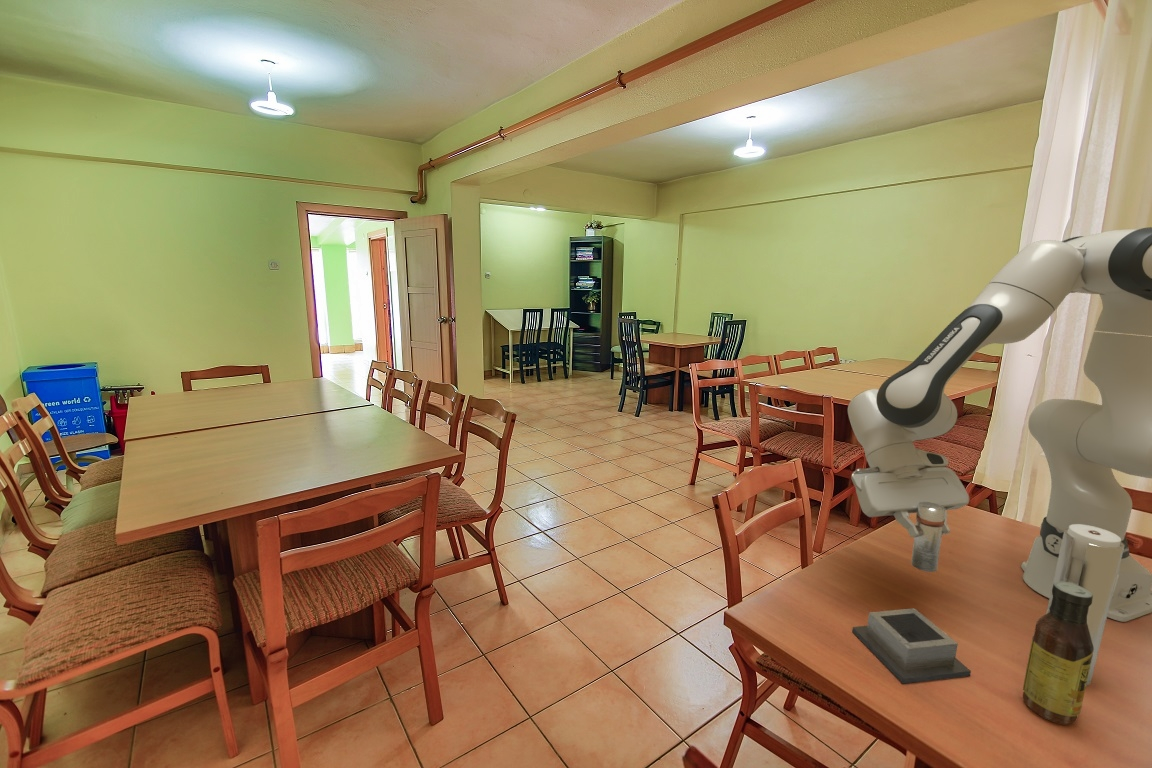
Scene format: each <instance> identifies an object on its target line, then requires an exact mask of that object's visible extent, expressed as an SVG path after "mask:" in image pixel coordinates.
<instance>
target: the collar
mask: <svg viewBox="0 0 1152 768" xmlns="http://www.w3.org/2000/svg"><path fill="white" fill-rule="evenodd" d="M867 619H868V620H867V625H859V626H853V627H852V633H853V634H854V636H855V637H857V639H859V641H861V643H863V645H864V646H865V647H866V648H867V649H868V650H869V651H870V652H871V653H872V654H873V655H874V656H875V657H876V658H877V659H878V660H879V661H880V662H881V663H882V664H883V665H884V666H885V668H887V670H889V672H890V673H892V675H894V677H895V678H896V679H897V680H898V681H899V682H900V683H901V684H902V685H906V684H916V683H923V682H924V683H925V682H933V681H940V680H941V681H942V680H950V679H957V678H967V677H970V676H971V673H972V670H971V669H970V668H969V667H967V666H966V665H965V664H963V663H962V662H961V660H959V659H958V658H957V656H956V655H957V651H958V645H959V644H958V642H956V640H955V639H953V638H952V637H951V636H949V635H948V634H947V633H946V632H945V631H943V630H942V629H941V628H940V627H938V626H937V625H936V624H934V622H932V621H931V620H930V619H928V618H927V617H926V616H925V615H923V614H922V613H921V612H920V611H918V609H916V608H913V607H911V608H903V609H902V608H901V609H893V610H882V611H872V612H871V611H870V612H869V613H868V618H867Z"/></svg>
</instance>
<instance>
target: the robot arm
mask: <svg viewBox="0 0 1152 768" xmlns="http://www.w3.org/2000/svg"><path fill="white" fill-rule="evenodd" d="M1072 293H1073V294H1074V293H1079V294H1087V295H1088V294H1089V295H1099V297H1100V299H1101V304H1102V305H1101V306H1102V309H1101V312H1100V314H1099V315H1098V319H1097V321H1096V323H1095V327H1094V331H1093V333H1092V336H1091V340H1090V344H1089V348H1088V350H1087V354H1086V357H1085V361H1084V365H1083V373H1084V375H1085V377H1087V379H1088V380H1089V381H1091V382H1092V383H1093V384H1094V385H1095V386H1096V388H1097V389H1098V392H1099V393H1100V396H1101V404H1098V403H1094V402H1090V401H1084V400H1081V399H1080V400H1079V399H1066V398H1064V399H1063V398H1052V399H1047V400H1045V401H1042V402H1041V403H1039V404H1038V405H1037V406H1036V407H1035V408H1034V409H1033V410H1032V411H1031V413H1030V415H1029V418H1028V423H1027V424H1028V430H1029V432H1030V434H1031V436H1032V437H1033V438H1034V439H1035V440H1036V441H1037V443H1038V444H1039V446H1040V447H1041V449H1042V452H1043V453H1044V456H1045V458H1046V462H1047V464H1048V465H1047V466H1048V469H1049V472H1050V479H1051V480H1050V481H1051V485H1050V486H1051V488H1050V493H1049V500H1048V501H1049V502H1048V508H1047V513H1046V516H1045V517H1043V519H1042V522H1041V523H1040V531H1039V536H1036V537H1035V539H1034V541H1033V544H1032V546H1031V550H1030V553H1029V555H1028V558H1027V561H1023V562H1022V563H1021V565H1020V567H1021V569H1022V570H1023V571H1024V572H1023V575H1022V579H1023V581H1024V582H1025V584H1026V585H1028V586H1029V588H1031V589H1032V590H1033V591H1035V592H1036V593H1038V594H1040V595H1042V596H1044V597H1045V598H1048V600H1049V599H1050V594H1051V589H1052V585H1053V580H1054V576H1055V571H1056V566H1057V562H1058V557H1059V553H1060V548H1061V544H1062V539H1063V534H1064V531H1065V529H1067V528H1069V526H1070V525H1072V524H1083V525H1089V526H1094V527H1098V528H1101V529H1104V530H1107V531H1110V532H1112V533H1114V534H1116V535H1118V536H1119V537H1120V538H1121V542H1122V543H1123V544H1124V550H1123V554H1122V558H1121V562H1120V566H1119V571H1118V575H1117V579H1116V583H1115V587H1114V591H1113V595H1112V599H1111V603H1110V607H1109V611H1108V615H1107V618H1108V619H1112V620H1115V621H1118V622H1122V623H1123V622H1124V623H1125V622H1129V621H1132V620H1134V619H1135V620H1136V619H1137V618H1140V617H1142V616H1145V615H1148V614H1151V613H1152V573H1151V572H1150V571H1149V569H1147V568H1146V567H1145V566H1143V565H1142V564H1141V563H1140V562H1139V561H1138V560H1136V558H1134V557H1133V556H1132V555H1131V554H1130V549H1129V546H1131V548H1134V549H1140V548H1141V547H1142V546H1143V544H1144V541H1143V538H1140V537H1135V536H1133V535H1131V534H1127V529H1128V526H1129V521H1130V517H1131V514H1132V510H1133V501H1132V497H1131V496H1130V494H1129V493H1128V491H1126V489H1125V488H1124V487H1123V486H1122V484H1120V483H1119V482H1118V480H1117V479H1116V477H1115V475H1114V473H1113V470H1115V471H1117V472H1120V473H1124V474H1127V475H1130V476H1135V477H1140V478H1145V479H1152V226H1150V227H1141V228H1130V229H1129V228H1128V229H1112V230H1108V231H1107V230H1106V231H1103V232H1099V233H1093V234H1089V235H1084V236H1082V235H1080V236H1078V235H1077V236H1075V237H1074V236H1073V237H1069V238H1067V239H1064V240H1061V241H1060V240H1056V239H1055V240H1053V239H1052V240H1051V239H1045V240H1044V239H1043V240H1039V241H1034V242H1032V243H1029V244H1028V245H1026V246H1025V247H1024V248H1022V249H1021V250H1020V251H1019V252H1018V253H1017V254H1015V256H1013V257H1012V258H1011V259H1010V260H1009V261H1007V263H1006V264H1004V265H1003V266H1002V268H1000V270H999V271H997V273H996V274H995V275H994V276H993V277H992V279H991V280H990V281H989V282H988V283H987V285H986V286H985V287H984V288H983V289H982V291H980V292H979V294H978V295H977V296H976V298H975V299H974V300H973V301H972V302H971V303H970V304H969V306H967V307H966V308H965V309H963V311H962V312H961V313H960V314H958V315H957V316H956V317H955V318H954V319H953V320H952V321H950V323H949V324H948V325H947V326H945V328H943V330H941V332H940V333H939V334H938V335H937V336H936V337H935V338H934V339H933V341H932V342H931V343H930V344H929V345H928V346H927V347H925V349H924V350H923V351H922V352H921V353H920V354H919V355H918V356H917V357H916V358H915V359H914V360H913V361H912V362H911V363H910V364H909V365H907V366H905V367H904V368H903V369H901V370H899V371H897V372H896V373H894V374H892V375H891V376H889V377H888V378H886V379H885V380H884V381H883V383H882V384H881V386H880V387H879V388H871V389H867V390H865V391H862V392H860V393H858V394H857V395H855V396H854V397H853V398H852V399H851V400H850V401H849V404H848V406H847V415H848V420H849V422H850V425H851V426H850V427H851V428H852V431H853V433H854V435H855V438H856V440H857V442H858V443H859V444H860V445H861V446H862V447H863V450H864V454H865V455H864V456H865V459H866V461H867V464H868V466H869V467H868V468H867V467H866V468H856V469H855V470H854V471H853V472H852V473H851V476H850V479H851V481H852V484H853V486H854V488H855V492H856V496H857V499H858V503H859V505H860V508H861V511H862V513H864V515H866V516H867V517H869V518H874V517H875V518H876V517H885V516H886V517H887V516H894V519H895V521H896V522H897V523H898V524H900V525H901V526H902V527H903V528H904V529H906V531H907V532H908V535H909V537H910V538H912V539H914V537H920V536H922V535H923V531H922V530H921V527H920V525H916V523H914V521H912V520H911V519H910V518H909V517H910V514H917V513H918V505H919V503H920V502H931V503H936V504H939V505H941V506H943V507H944V508H945V516H944V519H945V521H944V526H943V530H942V536H943V535H947V534H950V533H951V529H950V527H949V525H948V523H947V521H948V520H947V519H948V511H951V510H952V511H953V510H958V509H960V508H964V507H966V506H967V505H968V504H969V502H970V496H969V494H968V492H967V490H966V488H965V486H964V485H963V483H962V481H961V479H960V478H959V477H958V475H957V474H956V472H955V471H954V470H953V469H951V468H949V467H946V466H949V461H948V458H947V457H946V456H945V455H944V454H939V453H935V452H930V451H927V450H923V449H920V448H916V446H915V445H914V443H913V442H919V441H924V440H929V439H932V438H933V439H934V438H938V437H941V436H943V435H945V434H947V433H949V432H950V431H951V430H952V429H953V428H954V427H955V426H956V424H957V422H958V417H959V413H958V409H957V406H956V404H955V403H954V402H953V400H952V399H951V398H950V397H949V396H948V395H947V394H946V393H945V388H946V385H947V384H948V382H949V381H950V380H951V379H952V378H953V377H954V376H955V375H956V374H957V373H958V371H959V370H961V369H962V368H963V366H965V364H966V363H967V362H968V361H969V360H970V359H971V358H972V357H973V356H975V354H976V353H977V352H978V351H979V350H981V349H982V348H985V347H987V346H988V345H992V344H998V345H999V344H1000V345H1005V344H1006V345H1007V344H1014V343H1019V342H1021V341H1023V340H1026V339H1027V338H1028V337H1030V336H1031V335H1033V333H1035V332H1036V331H1038V329H1040V328H1041V327H1042V326H1043V325H1044V324H1045V323H1046V322H1047V320H1049V318H1050V317H1051V316H1052V315H1053V313H1055V311H1056V310H1057V309H1058V307H1059V306H1060V305H1061V304H1062V303H1063V301H1064V300H1065V298H1066V297H1067V296H1068V295H1069V294H1072ZM1126 534H1127V535H1126Z"/></svg>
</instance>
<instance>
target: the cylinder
mask: <svg viewBox="0 0 1152 768" xmlns="http://www.w3.org/2000/svg"><path fill="white" fill-rule="evenodd" d="M915 515H916V517H915V520H916V523H915V525H920V527H921V530H922V531H923V535H922V536H920V537H914V538H913V547H912V553H911V559H910V564H911V565H912V566H913V567H914V568H915V569H918V570H920V571H924V572H927V573H933V572H937V570H938V564H939V556H940V552H941V551H940V550H941V544H942V543H941V542H942V536H943V535H942V530H943V526H944V521H945V519H944V516H945V508H944V507H943V506H941V505H939V504H936V503H931V502H920V503H919V505H918V513H916V514H915Z"/></svg>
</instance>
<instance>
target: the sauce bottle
mask: <svg viewBox="0 0 1152 768" xmlns="http://www.w3.org/2000/svg"><path fill="white" fill-rule="evenodd" d="M1052 595H1053V598H1052V603H1051V606H1050V608H1049V609H1050V612H1049V613H1047V614H1044V615H1042V616H1041V617H1040V618H1038V619H1037V621H1036V623H1035V629H1034V634H1033V636H1032V638H1031V644H1030V649H1029V653H1028V659H1027V664H1026V670H1025V675H1024V680H1023V687H1022V690H1023V692H1022V699H1023V702H1024V703H1025V705H1026V706H1027V707H1028V708H1029V709H1030V710H1031V711H1032V712H1033V713H1035V714H1036V715H1038V716H1039V717H1042V718H1043V719H1045V720H1048V721H1050V722H1052V723H1056V724H1059V725H1063V726H1065V725H1067V726H1069V725H1073V724H1074V723H1076V721H1077V720H1078V716H1079V715H1080V714H1081V710H1082V706H1083V701H1084V696H1085V693H1086V692H1085V691H1086V688H1087V686H1086V684H1087V679H1088V675H1089V670H1090V665H1091V660H1092V656H1093V651H1094V647H1093V644H1092V640H1091V636H1090V632H1089V629H1088V625H1087V615H1088V610H1089V606H1090V605H1091V604H1092V598H1093V595H1092V593H1091V592H1090V591H1088V590H1087V589H1085V588H1083V587H1081V586H1078V585H1075V584H1072V583H1068V582H1060V581H1059V582H1055V583H1054V584H1053V588H1052Z"/></svg>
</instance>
